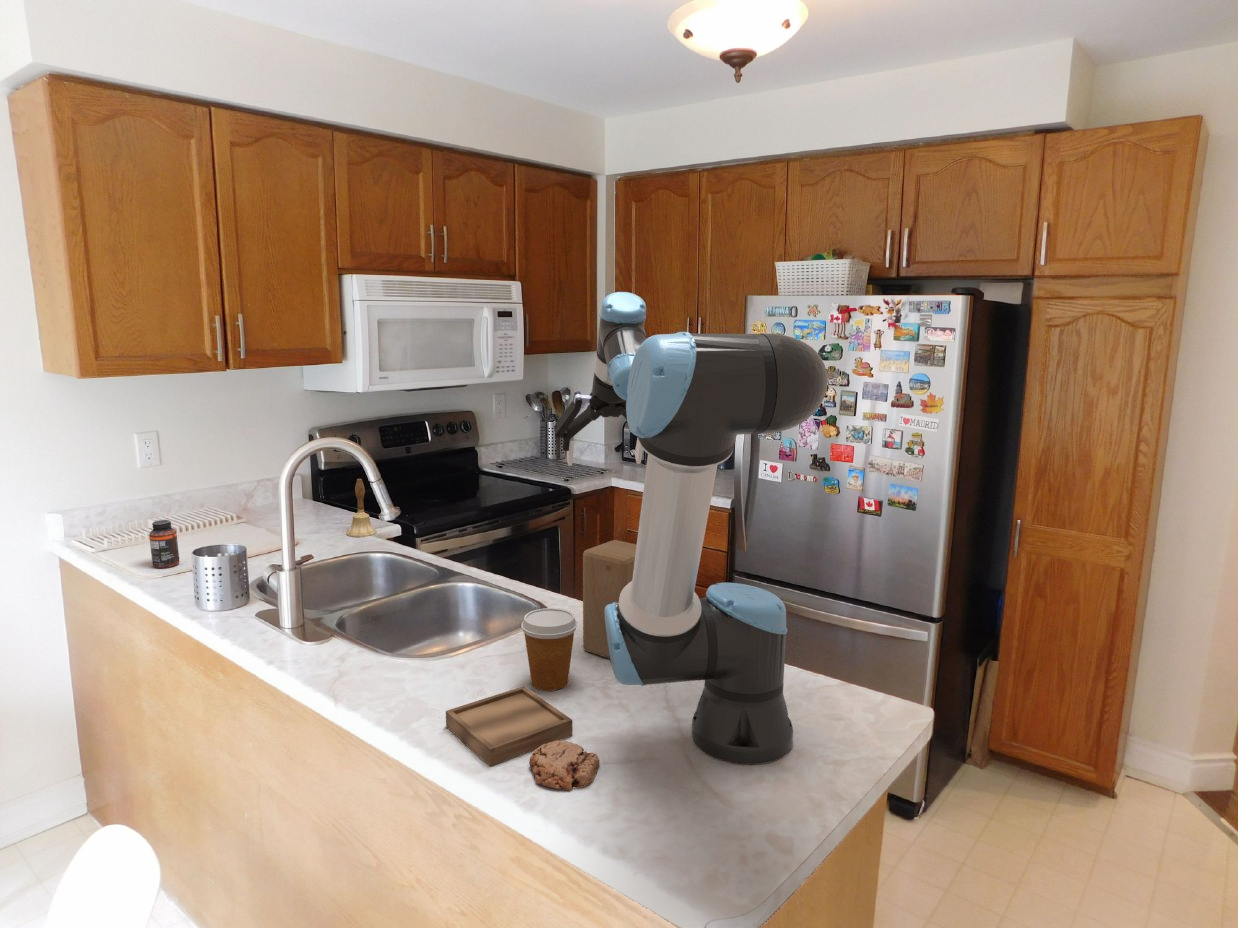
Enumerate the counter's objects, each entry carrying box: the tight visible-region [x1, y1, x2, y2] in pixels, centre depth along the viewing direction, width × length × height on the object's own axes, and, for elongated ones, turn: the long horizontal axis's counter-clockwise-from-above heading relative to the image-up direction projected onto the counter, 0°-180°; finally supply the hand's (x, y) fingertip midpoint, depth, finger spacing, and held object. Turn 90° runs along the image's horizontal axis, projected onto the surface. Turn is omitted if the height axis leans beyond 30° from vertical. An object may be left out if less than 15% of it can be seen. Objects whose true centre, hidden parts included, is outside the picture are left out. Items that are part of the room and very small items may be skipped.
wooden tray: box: [445, 685, 573, 767], centre depth 124 cm, size 14×14×3 cm
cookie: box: [528, 740, 600, 792], centre depth 114 cm, size 10×11×3 cm
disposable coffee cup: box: [520, 607, 578, 692], centre depth 139 cm, size 10×10×12 cm
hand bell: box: [345, 478, 378, 538], centre depth 231 cm, size 8×8×16 cm
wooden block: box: [582, 539, 637, 660], centre depth 153 cm, size 10×10×20 cm
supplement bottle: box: [148, 519, 180, 569], centre depth 201 cm, size 6×6×11 cm
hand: (603, 460), depth 159 cm, fingers open, 13 cm apart
